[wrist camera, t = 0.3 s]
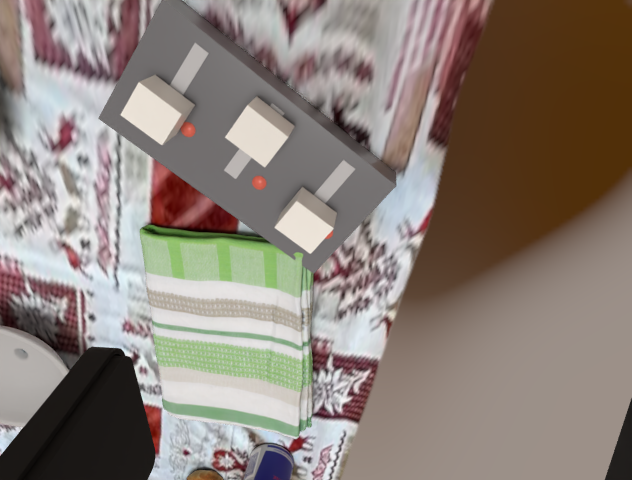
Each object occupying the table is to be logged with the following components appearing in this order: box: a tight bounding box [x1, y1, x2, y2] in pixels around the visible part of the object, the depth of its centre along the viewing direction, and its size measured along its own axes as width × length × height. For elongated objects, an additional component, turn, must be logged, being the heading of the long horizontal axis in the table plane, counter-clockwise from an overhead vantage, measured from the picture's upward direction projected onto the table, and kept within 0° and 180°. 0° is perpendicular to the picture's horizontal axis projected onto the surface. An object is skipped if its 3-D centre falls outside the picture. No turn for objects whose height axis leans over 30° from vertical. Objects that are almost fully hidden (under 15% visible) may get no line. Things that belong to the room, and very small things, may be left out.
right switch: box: [274, 187, 337, 254], centre depth 41 cm, size 4×3×3 cm
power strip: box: [98, 0, 396, 274], centre depth 42 cm, size 22×11×3 cm, turn 53°
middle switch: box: [225, 96, 295, 167], centre depth 38 cm, size 4×3×3 cm
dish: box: [0, 325, 69, 427], centre depth 56 cm, size 18×14×5 cm
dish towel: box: [140, 225, 313, 439], centre depth 51 cm, size 17×23×4 cm
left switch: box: [121, 75, 195, 145], centre depth 38 cm, size 4×3×3 cm
